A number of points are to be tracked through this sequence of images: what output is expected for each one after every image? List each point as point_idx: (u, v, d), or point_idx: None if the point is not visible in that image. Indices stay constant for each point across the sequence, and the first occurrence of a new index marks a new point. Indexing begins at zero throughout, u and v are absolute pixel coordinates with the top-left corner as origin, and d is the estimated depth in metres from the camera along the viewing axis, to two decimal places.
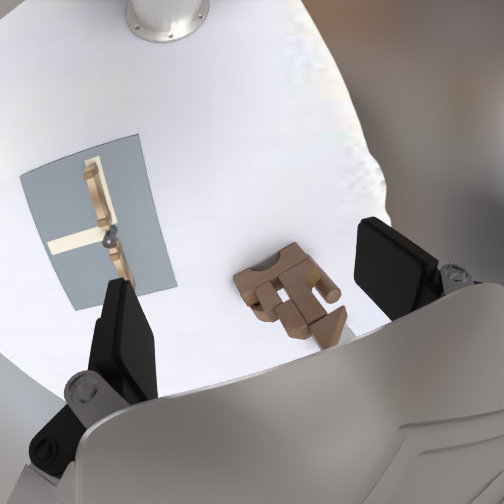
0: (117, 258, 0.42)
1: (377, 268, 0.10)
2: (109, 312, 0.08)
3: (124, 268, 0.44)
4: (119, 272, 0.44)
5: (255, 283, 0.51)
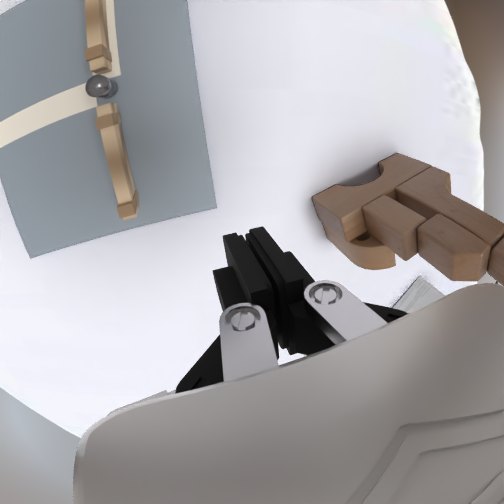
0: (110, 122, 0.18)
1: None
2: (242, 257, 0.09)
3: (121, 152, 0.21)
4: (110, 158, 0.20)
5: (361, 200, 0.27)
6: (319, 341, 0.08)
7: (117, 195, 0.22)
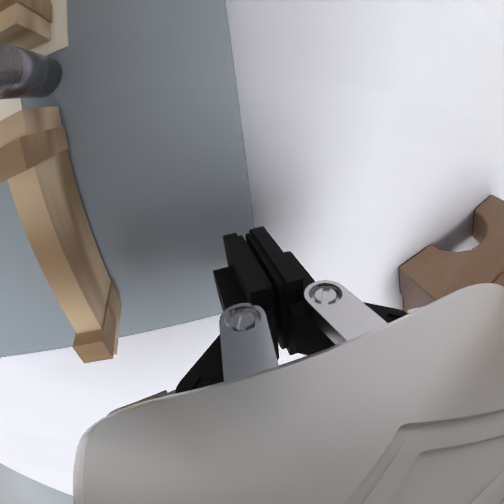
0: (19, 162, 0.06)
1: None
2: (242, 257, 0.09)
3: (62, 227, 0.08)
4: (38, 246, 0.08)
5: (475, 282, 0.15)
6: (319, 341, 0.08)
7: (70, 319, 0.09)
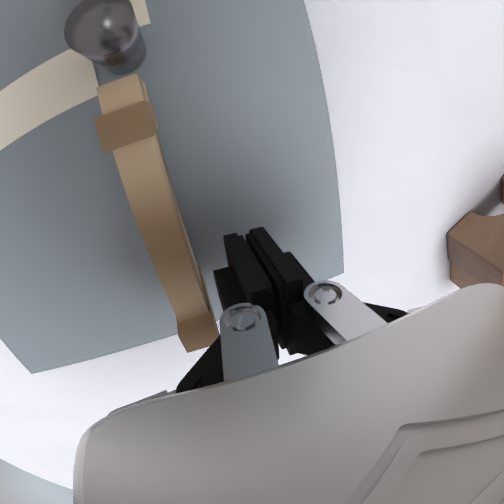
0: (143, 127, 0.06)
1: None
2: (242, 257, 0.09)
3: (173, 205, 0.09)
4: (147, 225, 0.08)
5: None
6: (319, 341, 0.08)
7: (174, 305, 0.10)
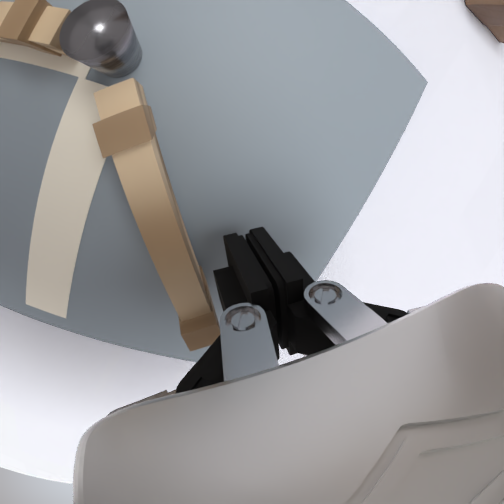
0: (141, 131, 0.07)
1: None
2: (242, 256, 0.09)
3: (173, 207, 0.09)
4: (148, 227, 0.09)
5: None
6: (319, 341, 0.08)
7: (176, 305, 0.10)
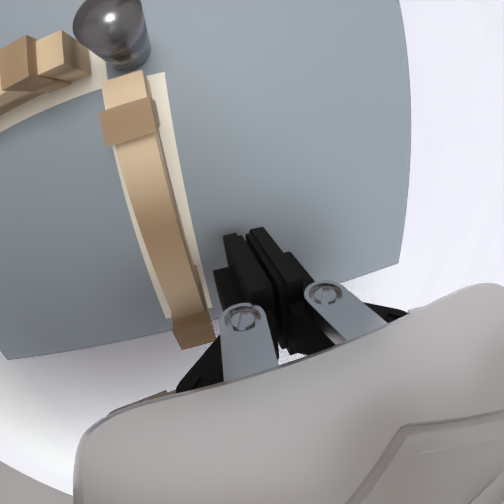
0: (146, 123, 0.07)
1: None
2: (242, 256, 0.09)
3: (172, 202, 0.09)
4: (147, 220, 0.08)
5: None
6: (319, 341, 0.08)
7: (170, 302, 0.10)
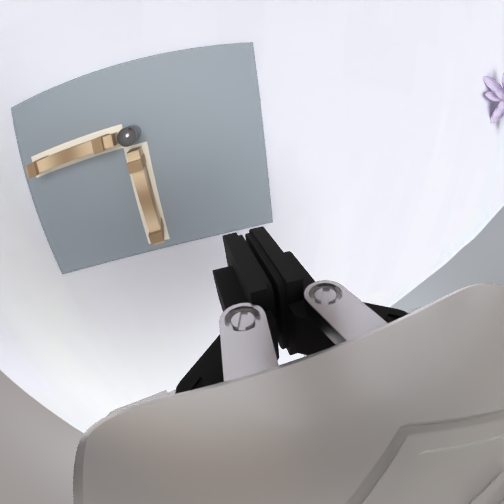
0: (140, 167, 0.24)
1: None
2: (242, 257, 0.09)
3: (149, 190, 0.27)
4: (141, 195, 0.26)
5: None
6: (319, 341, 0.08)
7: (148, 225, 0.28)
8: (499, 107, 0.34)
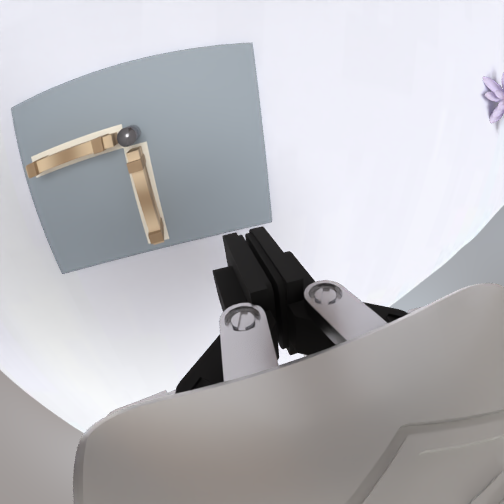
0: (140, 167, 0.25)
1: None
2: (242, 257, 0.09)
3: (149, 190, 0.27)
4: (140, 195, 0.26)
5: None
6: (319, 341, 0.08)
7: (148, 225, 0.28)
8: (498, 107, 0.35)
